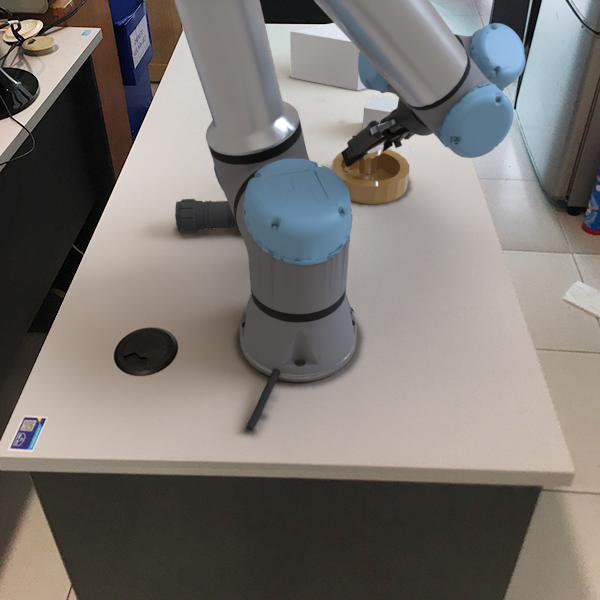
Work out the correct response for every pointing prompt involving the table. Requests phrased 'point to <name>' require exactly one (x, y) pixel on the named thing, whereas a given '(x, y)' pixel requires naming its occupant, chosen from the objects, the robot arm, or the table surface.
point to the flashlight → (203, 215)
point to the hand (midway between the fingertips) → (357, 155)
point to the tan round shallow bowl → (388, 181)
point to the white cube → (378, 109)
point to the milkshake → (370, 164)
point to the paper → (325, 57)
